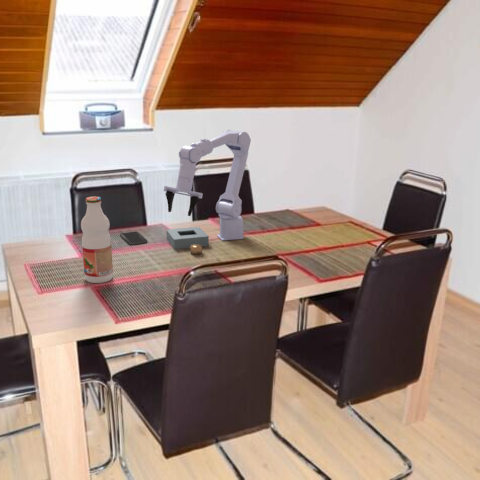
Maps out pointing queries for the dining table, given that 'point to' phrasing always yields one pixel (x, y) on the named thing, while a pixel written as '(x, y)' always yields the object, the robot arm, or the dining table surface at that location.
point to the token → (196, 249)
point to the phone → (133, 238)
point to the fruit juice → (96, 243)
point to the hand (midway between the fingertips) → (179, 213)
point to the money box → (187, 237)
